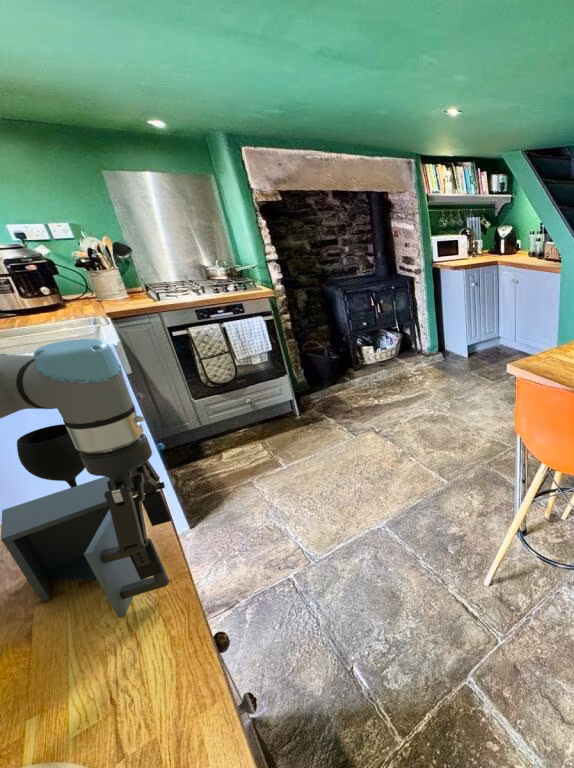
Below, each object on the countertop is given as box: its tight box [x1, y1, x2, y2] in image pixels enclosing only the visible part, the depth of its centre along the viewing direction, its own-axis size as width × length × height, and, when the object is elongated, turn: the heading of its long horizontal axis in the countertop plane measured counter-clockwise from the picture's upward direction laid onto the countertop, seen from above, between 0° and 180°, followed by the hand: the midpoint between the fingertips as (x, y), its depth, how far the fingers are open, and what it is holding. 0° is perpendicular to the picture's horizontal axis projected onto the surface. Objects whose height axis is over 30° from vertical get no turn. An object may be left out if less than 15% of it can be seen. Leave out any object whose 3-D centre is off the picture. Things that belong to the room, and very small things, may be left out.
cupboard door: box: [84, 509, 171, 618], centre depth 73 cm, size 7×14×16 cm, turn 28°
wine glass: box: [16, 423, 86, 488], centre depth 91 cm, size 10×10×20 cm
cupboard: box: [0, 476, 110, 603], centre depth 76 cm, size 10×14×16 cm
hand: (157, 546), depth 69 cm, fingers open, 13 cm apart
